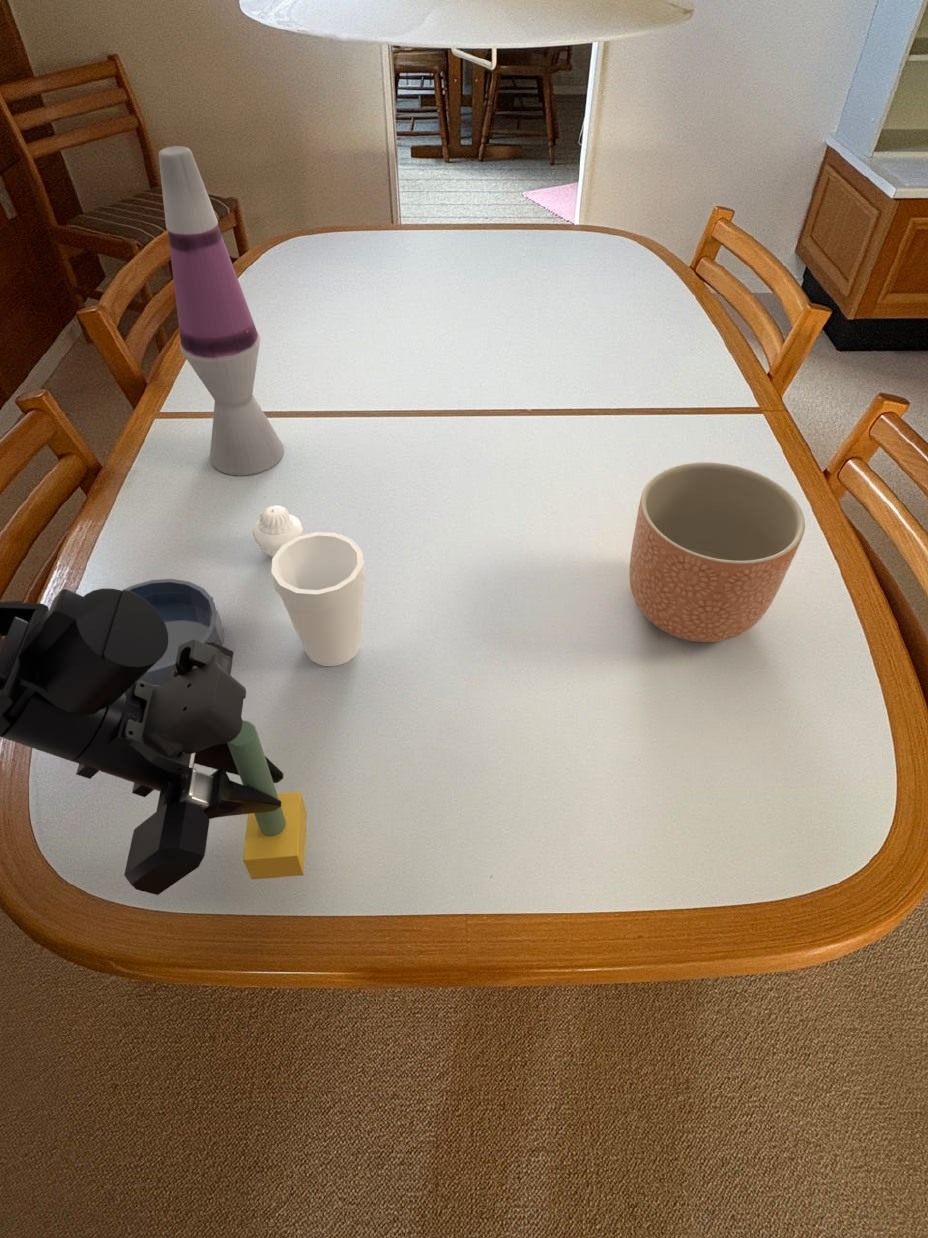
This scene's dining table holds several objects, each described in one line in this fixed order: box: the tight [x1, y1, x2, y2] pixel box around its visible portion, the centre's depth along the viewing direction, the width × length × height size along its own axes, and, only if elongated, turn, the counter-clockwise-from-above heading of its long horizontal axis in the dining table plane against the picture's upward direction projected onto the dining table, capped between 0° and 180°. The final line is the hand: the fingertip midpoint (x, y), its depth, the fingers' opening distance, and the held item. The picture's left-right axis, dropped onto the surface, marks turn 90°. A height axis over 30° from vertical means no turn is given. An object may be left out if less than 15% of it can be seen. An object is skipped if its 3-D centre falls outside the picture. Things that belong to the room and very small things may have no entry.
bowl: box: [121, 578, 225, 686], centre depth 89 cm, size 14×14×4 cm
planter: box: [628, 461, 806, 643], centre depth 89 cm, size 17×17×15 cm
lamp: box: [158, 145, 285, 477], centre depth 101 cm, size 11×11×40 cm
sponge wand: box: [227, 720, 308, 880], centre depth 63 cm, size 4×6×17 cm
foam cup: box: [270, 531, 366, 667], centre depth 85 cm, size 10×9×13 cm
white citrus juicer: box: [252, 505, 304, 558], centre depth 98 cm, size 6×6×7 cm
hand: (279, 792), depth 63 cm, fingers closed on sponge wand, 2 cm apart
